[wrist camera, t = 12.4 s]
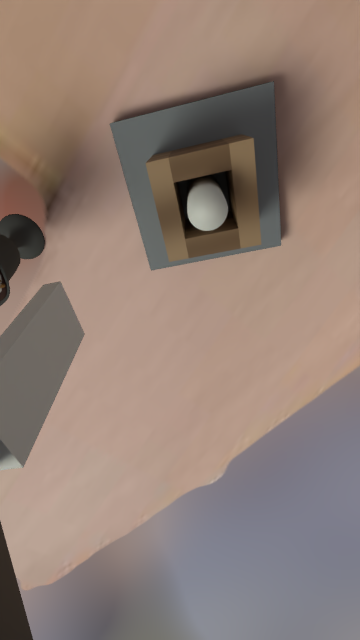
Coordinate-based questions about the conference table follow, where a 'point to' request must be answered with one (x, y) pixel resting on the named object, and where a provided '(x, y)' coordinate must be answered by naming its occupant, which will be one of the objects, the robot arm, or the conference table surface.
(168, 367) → the conference table surface
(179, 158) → the collar
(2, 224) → the sundae
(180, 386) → the conference table surface
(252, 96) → the post stand
